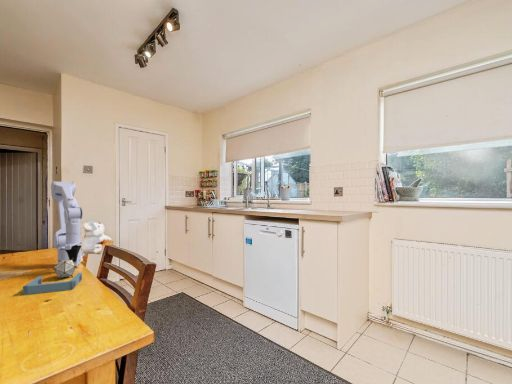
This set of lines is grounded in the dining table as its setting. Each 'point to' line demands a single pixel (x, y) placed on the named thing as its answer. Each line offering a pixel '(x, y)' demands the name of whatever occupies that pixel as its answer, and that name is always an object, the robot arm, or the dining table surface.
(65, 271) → the game die
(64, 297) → the dining table surface
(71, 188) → the robot arm
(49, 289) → the chassis
